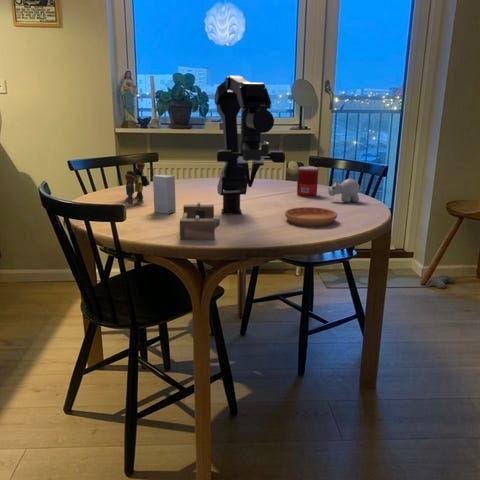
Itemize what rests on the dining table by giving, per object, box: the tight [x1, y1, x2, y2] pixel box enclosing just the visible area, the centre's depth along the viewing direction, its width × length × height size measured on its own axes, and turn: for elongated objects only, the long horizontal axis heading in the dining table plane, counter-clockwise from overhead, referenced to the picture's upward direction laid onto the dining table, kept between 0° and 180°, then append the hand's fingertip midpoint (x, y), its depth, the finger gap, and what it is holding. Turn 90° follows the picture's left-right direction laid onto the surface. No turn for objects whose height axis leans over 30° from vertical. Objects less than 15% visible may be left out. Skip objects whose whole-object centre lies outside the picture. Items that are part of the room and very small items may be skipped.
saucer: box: [284, 206, 338, 227], centre depth 141 cm, size 16×16×3 cm
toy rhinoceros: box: [327, 178, 360, 203], centre depth 171 cm, size 7×12×8 cm, turn 95°
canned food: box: [296, 166, 319, 197], centre depth 182 cm, size 8×8×11 cm
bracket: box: [210, 217, 221, 228], centre depth 132 cm, size 4×10×2 cm, turn 167°
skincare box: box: [152, 174, 177, 215], centre depth 149 cm, size 6×4×12 cm
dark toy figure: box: [124, 161, 151, 207], centre depth 166 cm, size 23×9×13 cm, turn 18°
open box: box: [179, 201, 216, 241], centre depth 128 cm, size 21×9×6 cm, turn 4°
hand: (249, 186), depth 130 cm, fingers closed
